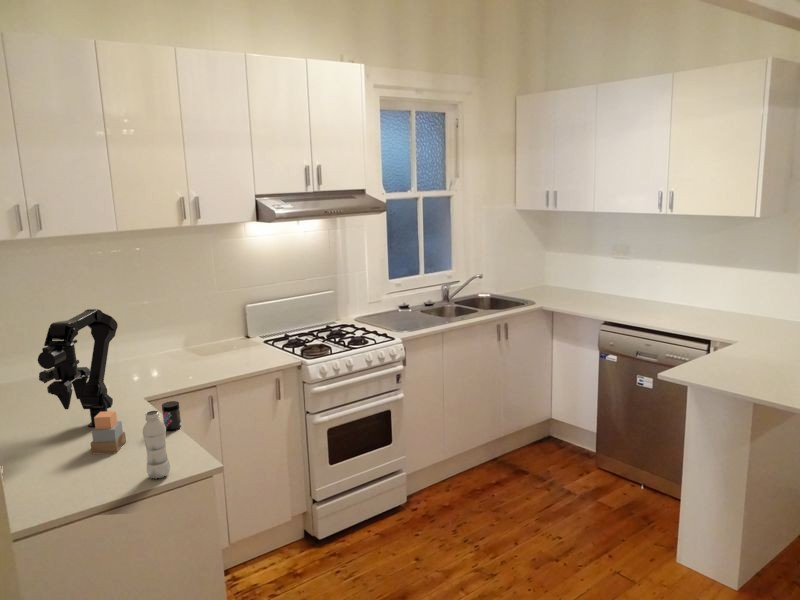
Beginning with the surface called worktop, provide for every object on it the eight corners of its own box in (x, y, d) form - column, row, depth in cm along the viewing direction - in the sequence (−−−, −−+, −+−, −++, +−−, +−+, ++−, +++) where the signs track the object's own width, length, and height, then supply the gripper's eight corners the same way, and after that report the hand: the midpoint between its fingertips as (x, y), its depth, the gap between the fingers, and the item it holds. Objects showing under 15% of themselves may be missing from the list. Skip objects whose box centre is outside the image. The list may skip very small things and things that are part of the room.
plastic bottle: (142, 479, 186) (134, 416, 182) (158, 469, 193) (151, 407, 188) (160, 483, 184) (152, 418, 180) (175, 472, 190) (168, 409, 186)
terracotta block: (101, 423, 209) (100, 411, 209) (117, 422, 210) (115, 411, 209) (95, 429, 205) (94, 417, 204) (111, 428, 205) (109, 416, 204)
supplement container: (164, 426, 225) (161, 402, 223) (181, 424, 227) (179, 400, 225) (163, 432, 220) (160, 408, 218) (181, 430, 221) (178, 405, 219)
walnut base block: (102, 444, 212) (100, 433, 211) (126, 442, 213) (124, 431, 212) (92, 454, 205) (90, 443, 204) (117, 453, 205) (115, 442, 204)
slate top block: (101, 433, 211) (99, 422, 210) (122, 432, 212) (121, 421, 211) (93, 442, 204) (91, 431, 203) (115, 441, 205) (114, 429, 204)
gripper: (54, 352, 218) (60, 395, 221) (27, 369, 200) (34, 415, 203) (87, 351, 219) (93, 393, 222) (63, 367, 200) (70, 414, 204)
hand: (72, 404), depth 213 cm, fingers open, 9 cm apart
